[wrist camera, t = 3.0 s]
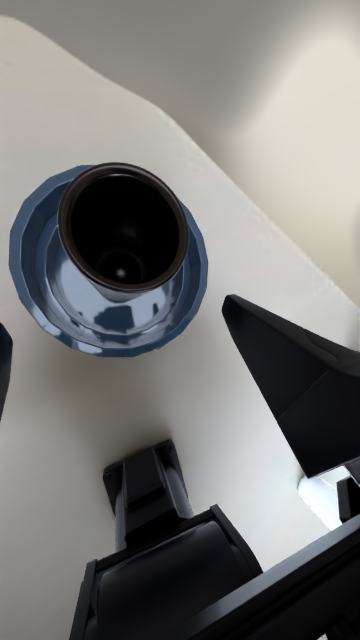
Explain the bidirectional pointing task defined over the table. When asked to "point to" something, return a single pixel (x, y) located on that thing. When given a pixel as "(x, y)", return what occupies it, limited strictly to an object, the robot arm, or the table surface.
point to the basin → (83, 299)
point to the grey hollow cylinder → (123, 229)
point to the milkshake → (321, 500)
